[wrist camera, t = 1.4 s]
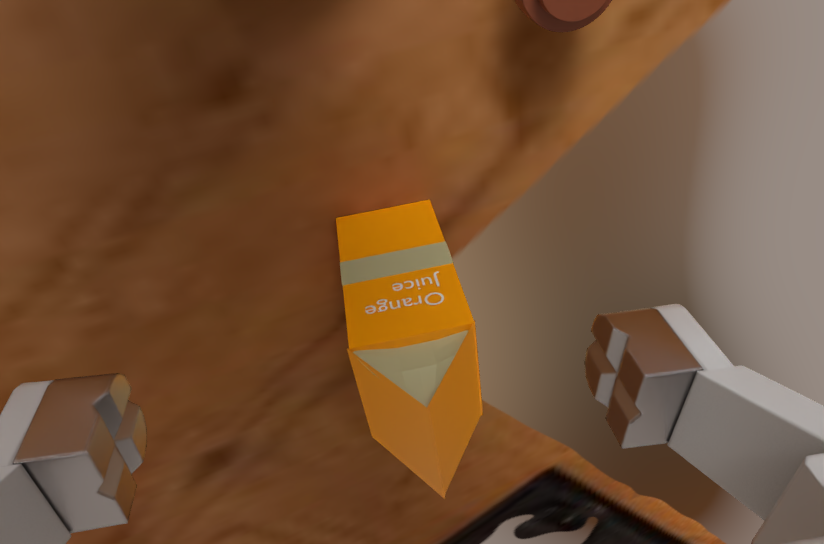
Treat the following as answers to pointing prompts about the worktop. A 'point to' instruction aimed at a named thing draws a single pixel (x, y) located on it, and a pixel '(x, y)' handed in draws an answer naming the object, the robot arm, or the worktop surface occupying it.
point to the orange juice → (410, 338)
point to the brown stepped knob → (562, 13)
